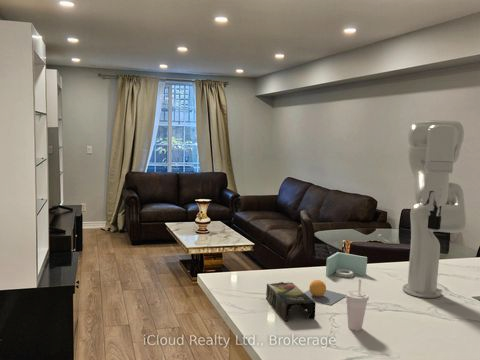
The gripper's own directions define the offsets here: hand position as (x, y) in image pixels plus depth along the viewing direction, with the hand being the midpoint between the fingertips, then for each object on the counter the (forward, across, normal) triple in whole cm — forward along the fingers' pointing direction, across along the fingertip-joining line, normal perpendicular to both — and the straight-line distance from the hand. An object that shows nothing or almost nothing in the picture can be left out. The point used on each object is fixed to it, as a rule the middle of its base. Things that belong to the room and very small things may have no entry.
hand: (433, 228), depth 139 cm
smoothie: (+27, +23, -13) cm, 38 cm away
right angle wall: (+28, -22, -36) cm, 51 cm away
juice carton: (+28, +23, -34) cm, 50 cm away
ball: (+24, +8, -33) cm, 42 cm away
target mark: (+27, +6, -32) cm, 42 cm away
